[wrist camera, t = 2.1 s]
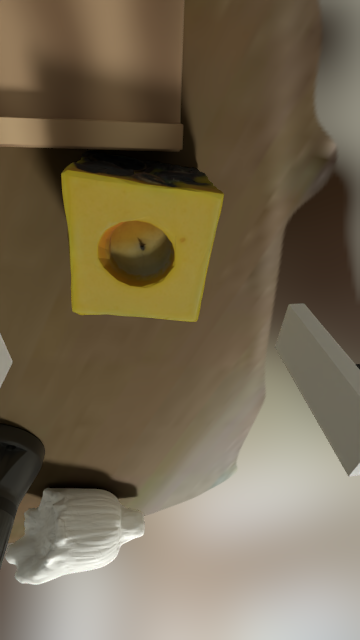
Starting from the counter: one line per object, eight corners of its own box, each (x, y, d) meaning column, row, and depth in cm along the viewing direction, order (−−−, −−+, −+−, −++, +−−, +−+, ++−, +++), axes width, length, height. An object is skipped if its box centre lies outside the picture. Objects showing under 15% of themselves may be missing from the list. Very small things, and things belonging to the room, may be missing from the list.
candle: (183, 269, 31) (200, 325, 23) (87, 261, 29) (70, 318, 21) (202, 166, 25) (232, 193, 18) (83, 147, 24) (58, 168, 16)
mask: (127, 499, 69) (14, 498, 57) (157, 481, 61) (33, 475, 50) (128, 575, 60) (-8, 592, 48) (163, 565, 52) (11, 583, 40)
